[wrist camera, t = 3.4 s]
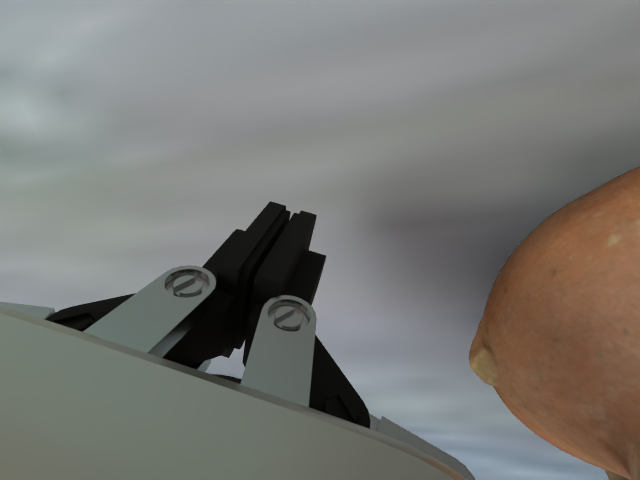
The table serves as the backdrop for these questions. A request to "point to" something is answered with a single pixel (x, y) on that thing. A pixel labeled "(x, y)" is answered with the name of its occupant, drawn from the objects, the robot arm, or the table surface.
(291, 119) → the table surface
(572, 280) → the ceramic jug
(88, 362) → the robot arm
